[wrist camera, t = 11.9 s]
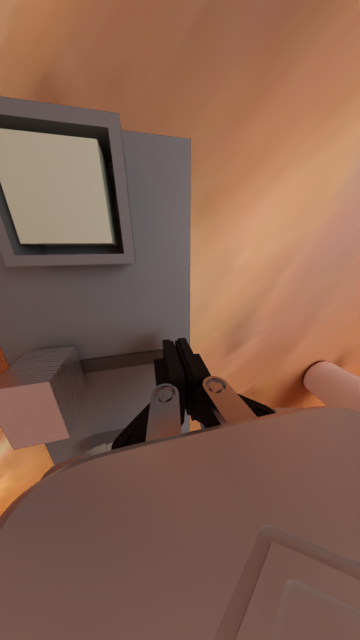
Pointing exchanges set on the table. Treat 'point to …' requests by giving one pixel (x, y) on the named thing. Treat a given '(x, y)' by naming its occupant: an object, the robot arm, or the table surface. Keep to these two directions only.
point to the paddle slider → (41, 396)
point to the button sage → (57, 189)
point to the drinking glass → (333, 385)
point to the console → (104, 273)
